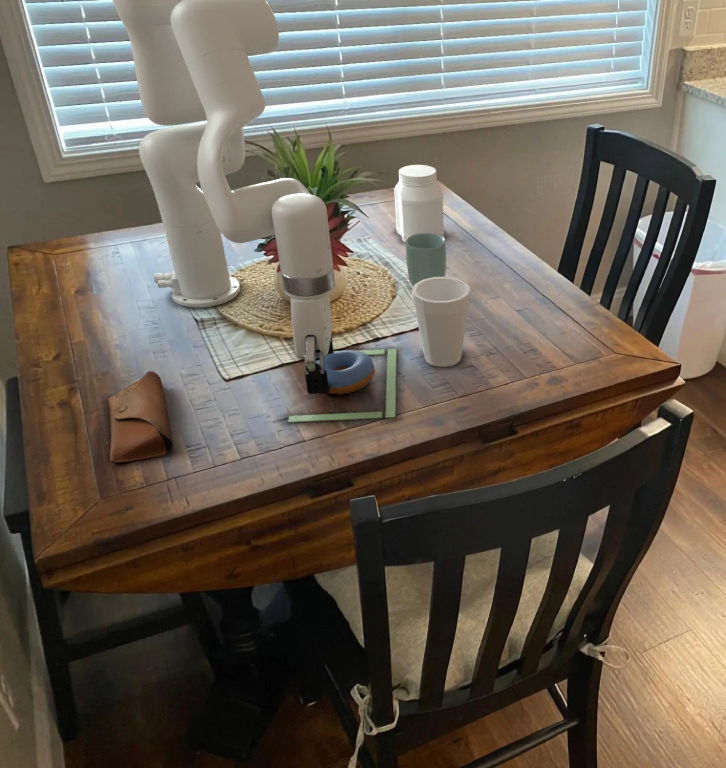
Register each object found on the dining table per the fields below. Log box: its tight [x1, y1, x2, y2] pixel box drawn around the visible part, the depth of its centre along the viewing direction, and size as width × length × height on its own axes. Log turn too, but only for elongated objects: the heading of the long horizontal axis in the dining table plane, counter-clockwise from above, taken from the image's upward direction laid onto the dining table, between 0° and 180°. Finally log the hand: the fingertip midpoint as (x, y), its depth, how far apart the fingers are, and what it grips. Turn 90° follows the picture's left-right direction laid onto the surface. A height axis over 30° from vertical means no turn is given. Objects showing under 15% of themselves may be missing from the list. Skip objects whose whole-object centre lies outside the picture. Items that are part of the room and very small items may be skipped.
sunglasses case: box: [107, 370, 174, 464], centre depth 111 cm, size 18×7×7 cm, turn 27°
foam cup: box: [411, 276, 471, 368], centre depth 126 cm, size 10×9×13 cm
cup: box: [405, 233, 447, 288], centre depth 149 cm, size 8×8×10 cm
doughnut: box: [316, 349, 376, 395], centre depth 121 cm, size 10×10×5 cm
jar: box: [393, 164, 445, 244], centre depth 170 cm, size 12×10×15 cm
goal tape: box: [287, 348, 398, 424], centre depth 122 cm, size 16×20×1 cm
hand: (321, 375), depth 121 cm, fingers open, 9 cm apart
